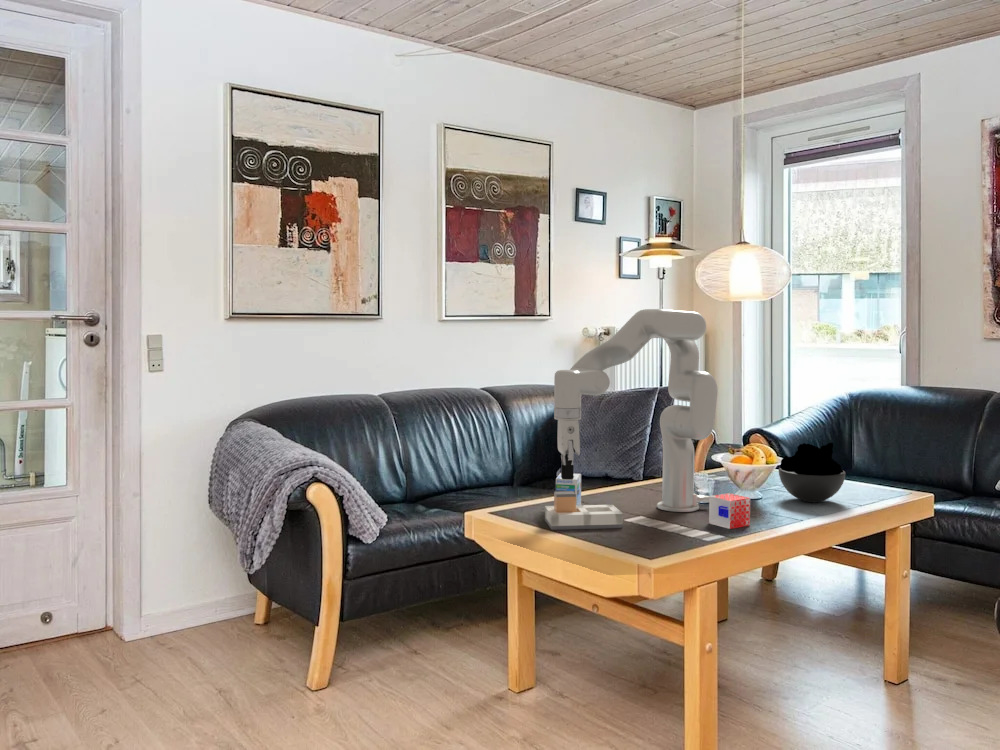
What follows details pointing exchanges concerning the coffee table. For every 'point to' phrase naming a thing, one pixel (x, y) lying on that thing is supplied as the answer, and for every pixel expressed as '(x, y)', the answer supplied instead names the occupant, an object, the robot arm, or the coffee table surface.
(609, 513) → the socket plate
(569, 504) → the tan box
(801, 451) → the bowl of black rocks
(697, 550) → the coffee table surface
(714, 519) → the red and white box
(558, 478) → the light bulb box
